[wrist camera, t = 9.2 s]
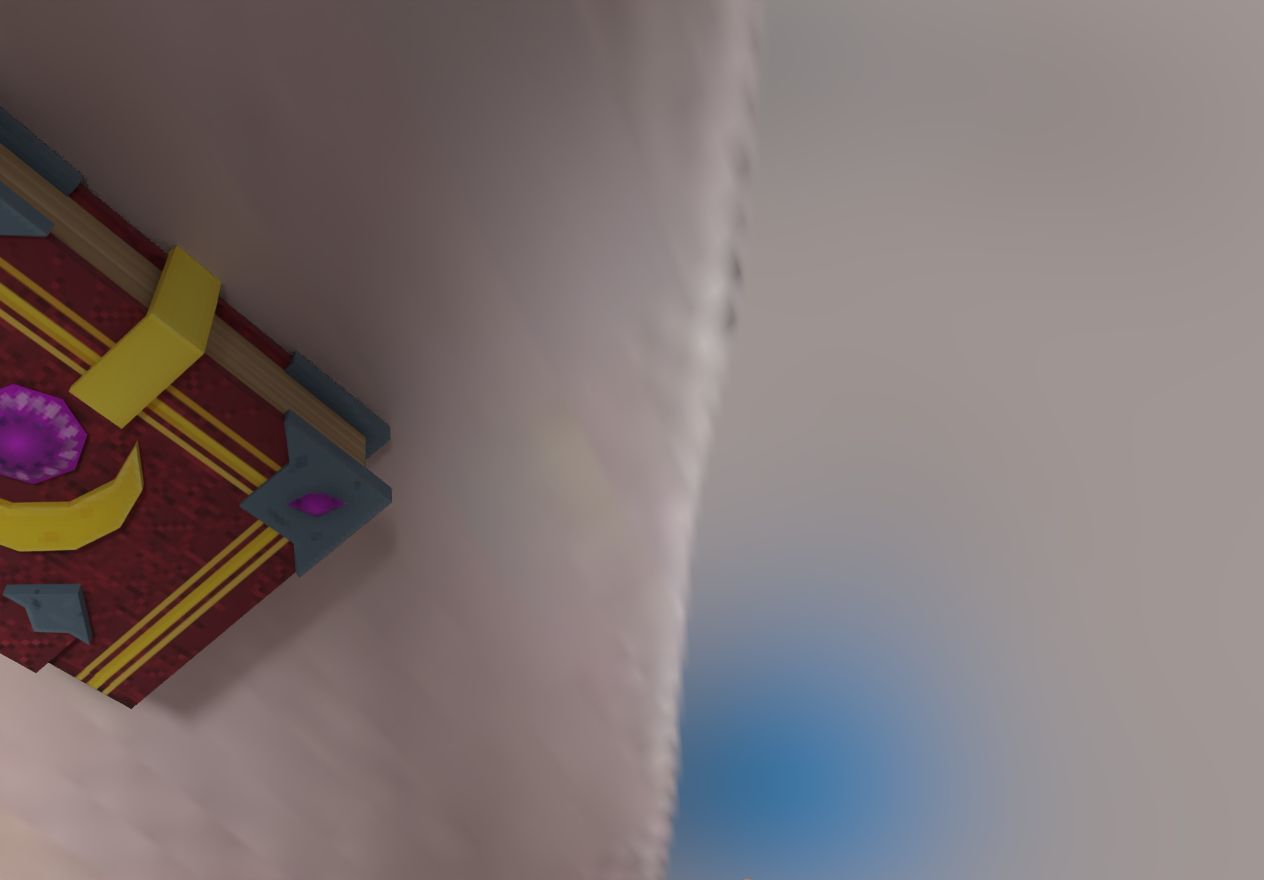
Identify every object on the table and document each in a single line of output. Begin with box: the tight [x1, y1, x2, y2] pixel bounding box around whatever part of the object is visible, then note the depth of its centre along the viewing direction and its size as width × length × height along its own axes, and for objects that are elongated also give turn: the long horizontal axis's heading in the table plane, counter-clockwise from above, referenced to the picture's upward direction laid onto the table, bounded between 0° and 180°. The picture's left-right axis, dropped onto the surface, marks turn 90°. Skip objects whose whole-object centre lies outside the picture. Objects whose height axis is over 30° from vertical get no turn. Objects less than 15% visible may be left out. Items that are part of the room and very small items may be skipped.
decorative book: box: [0, 107, 392, 709], centre depth 32 cm, size 11×16×5 cm
